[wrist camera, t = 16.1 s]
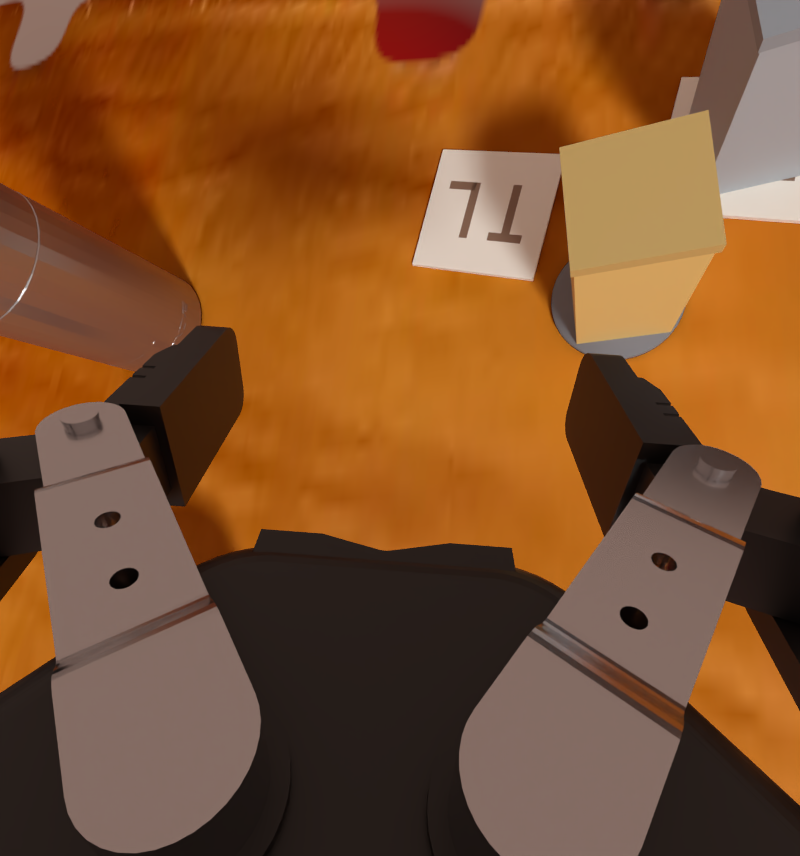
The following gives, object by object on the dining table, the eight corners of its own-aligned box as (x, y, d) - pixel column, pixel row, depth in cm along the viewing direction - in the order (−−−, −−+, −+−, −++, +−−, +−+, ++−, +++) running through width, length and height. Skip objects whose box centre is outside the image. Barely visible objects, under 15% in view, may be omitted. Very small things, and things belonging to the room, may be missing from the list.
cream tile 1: (413, 265, 38) (412, 264, 38) (444, 151, 38) (443, 149, 38) (533, 281, 35) (532, 279, 34) (565, 156, 35) (565, 154, 35)
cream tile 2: (646, 212, 33) (647, 209, 32) (680, 80, 33) (681, 77, 33) (813, 224, 30) (815, 222, 29) (849, 78, 30) (851, 75, 30)
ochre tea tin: (574, 346, 33) (570, 271, 22) (566, 262, 34) (559, 147, 22) (674, 334, 31) (726, 243, 20) (663, 245, 32) (708, 109, 21)
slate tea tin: (698, 201, 32) (763, 39, 20) (684, 117, 32) (739, -82, 21) (810, 175, 30) (950, -19, 18) (792, 88, 31) (916, -150, 19)
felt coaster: (538, 348, 34) (538, 346, 34) (568, 234, 34) (568, 232, 34) (668, 371, 31) (669, 369, 31) (699, 247, 31) (701, 244, 31)
